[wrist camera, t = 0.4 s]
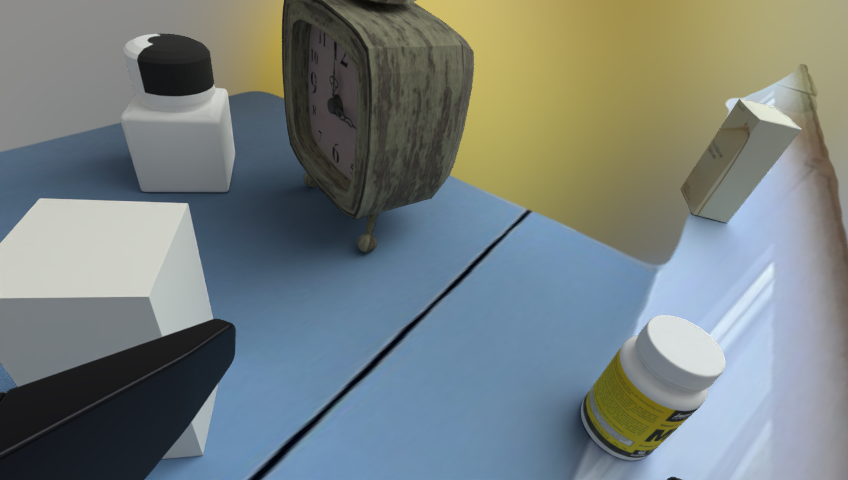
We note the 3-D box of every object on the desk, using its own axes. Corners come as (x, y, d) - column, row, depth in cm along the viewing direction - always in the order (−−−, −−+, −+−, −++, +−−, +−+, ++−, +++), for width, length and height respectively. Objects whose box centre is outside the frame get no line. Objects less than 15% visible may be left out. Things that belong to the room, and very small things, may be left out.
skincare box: (678, 189, 56) (736, 96, 48) (713, 197, 55) (777, 106, 48) (692, 216, 51) (758, 117, 43) (730, 225, 50) (804, 128, 43)
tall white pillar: (203, 455, 23) (148, 296, 15) (78, 466, 21) (-48, 298, 14) (222, 363, 27) (187, 203, 19) (119, 367, 25) (39, 198, 18)
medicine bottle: (235, 155, 45) (220, 32, 38) (229, 193, 40) (210, 60, 33) (158, 153, 43) (125, 23, 36) (140, 193, 38) (98, 51, 31)
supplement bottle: (631, 479, 25) (714, 402, 20) (564, 417, 28) (623, 333, 22) (665, 431, 28) (746, 352, 23) (602, 378, 30) (662, 296, 25)
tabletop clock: (287, 180, 43) (272, -156, 28) (366, 164, 48) (392, -130, 32) (358, 271, 35) (396, -136, 19) (446, 241, 40) (532, -104, 24)
